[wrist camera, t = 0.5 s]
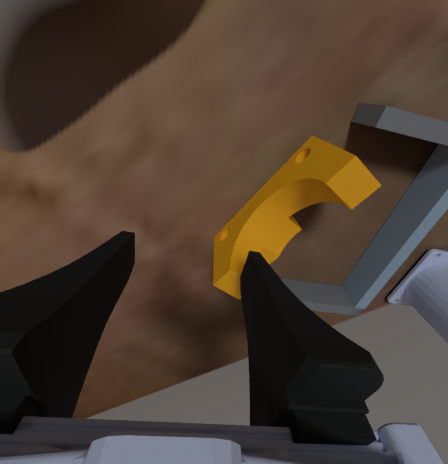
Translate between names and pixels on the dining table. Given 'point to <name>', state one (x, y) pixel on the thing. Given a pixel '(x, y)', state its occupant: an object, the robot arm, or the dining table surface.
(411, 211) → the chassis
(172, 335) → the dining table surface
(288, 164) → the pipe clamp
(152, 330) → the dining table surface
